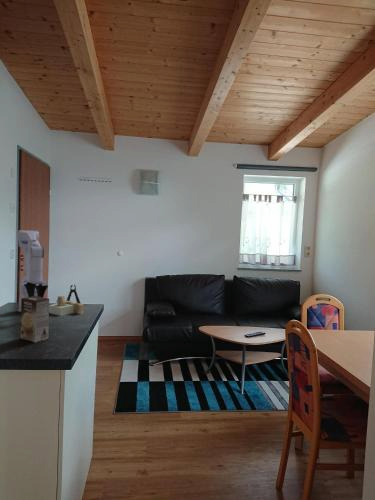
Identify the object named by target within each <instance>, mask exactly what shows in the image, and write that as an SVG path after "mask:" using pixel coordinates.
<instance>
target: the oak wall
mask: <svg viewBox="0 0 375 500" xmlns="http://www.w3.org/2000/svg"><path fill="white" fill-rule="evenodd" d="M66 300H67V299H65V304H70V305H74V313H73V314H78V315H83V314H85V304H84V303H81V302H80V303H81V304H80V303H77V302H76V301H75V302H74V301H66ZM56 304H58V299H56Z"/></svg>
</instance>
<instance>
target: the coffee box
mask: <svg viewBox="0 0 375 500" xmlns="http://www.w3.org/2000/svg"><path fill="white" fill-rule="evenodd" d="M49 305H50V298H47V297H38V296H32V297H26V298H21V312H20V316H21V317H20V339H22V340H26V341H28V340H29V342H31V341H32V342H31V343H38V341H39V342H41V340H42V341H45V340H49V325H50V324H49V323H50V322H49V321H50V318H49V317H50V313H49Z"/></svg>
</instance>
